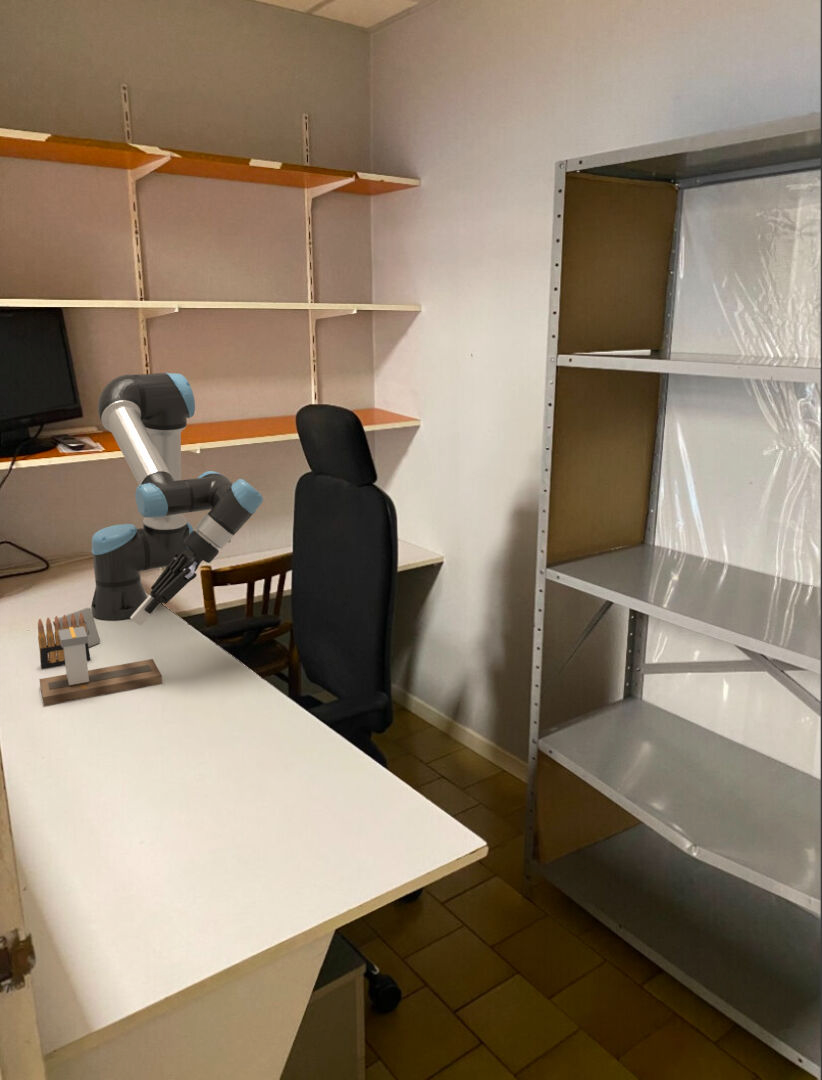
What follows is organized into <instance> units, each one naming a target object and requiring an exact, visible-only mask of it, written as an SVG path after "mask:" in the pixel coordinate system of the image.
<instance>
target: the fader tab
mask: <svg viewBox="0 0 822 1080" xmlns="http://www.w3.org/2000/svg"><path fill="white" fill-rule="evenodd" d="M58 634H59V639H60V643H61V646H62V647H63V649H64V658H65V665H64V666H65V672H66V673H65V674H66V675H67V679H68V683H69V685H74V684H79V683H85V682H89V676H88V670H89V667H88V661H87V658H86V648H85V644H86V643H88V636H87V633H86V631H85V628H84V626H83V627H76V628H73V627H69V629H63V630H58Z"/></svg>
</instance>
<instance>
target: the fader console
mask: <svg viewBox="0 0 822 1080" xmlns="http://www.w3.org/2000/svg"><path fill="white" fill-rule="evenodd" d="M88 676H89V682H85V683H79V684H74V685H69V683H68V679H67V675H66V673H65V674H61V675H55V676H50V677H49V676H48V677H44V678H39V687H40V693H41V697H42V702H43V706H44V707H46V706H50V705H51V706H52V705H56V704H62V703H67V702H72V701H78V700H83V699H89V698H92V697H93V698H94V697H98V696H104V695H108V694H115V693H119V692H125V691H130V690H134V689H135V690H136V689H140V688H144V687H145V688H146V687H151V686H155V685H161V684H163V677H162V673H161V671H160V669H159V667H158V666H157V664H156V662H155V660H154V659H153V658H152V659H145V660H140V661H139V660H138V661H133V662H128V663H122V664H117V665H111V666H106V667H100V668H95V669H88Z"/></svg>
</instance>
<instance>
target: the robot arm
mask: <svg viewBox="0 0 822 1080" xmlns="http://www.w3.org/2000/svg"><path fill="white" fill-rule="evenodd" d="M97 400H98V402H97V413H98V418H99V420H100V422H101V424H102V426H103V427H104V429H105V430H106V431H108V432H110V433H111V434H112V436H113V437H114V439H115V442H116V444H117V446H118V448H119V449H120V451H121V453H122V456H123V458H124V459H125V461H126V463H127V465H128V466H129V469H130V470H131V472H132V474H133V477H134V479H135V480H136V483H137V484H138V486H137V487H136V488H135V489H136V490H135V503H136V506H137V510H138V512H139V514H140V515H141V517H144V518H143V520H142V523H143V527H142V528H137V527H136V525H135V524H131V523H124V524H121V523H119V524H115V525H111V526H106V527H104V528H101V529H99V530H97V531H96V532H95V533H93V535H92V537H91V551H90V552H91V554H92V561H93V571H94V579H95V580H94V583H95V589H94V592H93V597H92V601H91V606H90V609H91V612H92V615H93V618H96V619H99V620H105V621H117V620H118V621H119V620H126V619H130V620H131V621H133V622H135V623H136V624H137V625H139V626H140V627H142V626H143V625H144V623H145V622H146V621H147V620H148V619H149V618H150V617H151V616H152V614H154V612H155V611H156V610H157V609H158V607H160V605H161V604H164V605H167V604H168V603H169V602H170V601H171V600H172V599H173V598H174V597H175V596H176V595H177V594H178V593H179V592H180V591H181V590H182V589H183V588H184V587H186V585H188V584H189V583H190V582H191V581H193V580H194V579H196V577H197V575H198V574H197V573H196V571H197V570H198V568H199V566H200V565H201V563H202V562H203V561H204V562H205V563H207V564H211V562H212V561H213V560H214V559H215V558H216V557H217V556H218V555H219V553H220V550H219V549H221V550H223V548H224V547H225V546H226V545H227V544H229V543H231V542H232V538H233V537H234V536H235V535H236V534H237V533H238V532H239V530H240V529H241V528H242V527H243V526H244V524H246V522H248V520H250V518H251V517H252V516H253V515H254V514H255V513H256V512H257V510H258V508H259V507H260V506H261V505H262V503H263V502H264V496H263V495H262V494H261V493H260V492H259V491H258V490H257V489H256V488H254V487H253V485H251V484H250V483H248V482H247V481H246V480H245V479H243V478H239V479H237V480H236V481H235V482H232V481H231V480H230V479H229V478H227V477H226V476H225V475H223V474H221V473H219V472H218V471H215V470H214V471H213V470H212V471H211V470H210V471H209V470H208V471H204V472H203V473H201V475H199V476H197V478H189V479H182V436H181V435H182V432H183V431H184V430H185V429H186V428H187V426H188V425H187V419H190V418H192V417H193V416H194V415H195V411H196V400H195V397H194V392H193V389H192V387H191V383H190V382H189V381H188V379H187V378H186V377H185V376H184V375H183V374H180V373H171V372H160V373H157V372H155V373H143V374H122V375H119V376H117V377H114V379H111V380H110V381H109V382H108V383H107V384H106V385H105V386H104V388H103V389H102V391H101V392H100V394H99V397H98V399H97ZM202 511H209V512H208V513H207V514H206V515H205V516H203V517H202V519H201V520H200V521H199V522H198V524H196V526H195V529H196V530H194V528H193V526H192V525H191V523H190V522H188V519H187V518H186V517H185V516H184V515H183V514H187V513H196V512H202ZM161 568H164V570H163V571H162V572H161V574H160V575H159V576H158V578H157V579H156V581H155V582H154V583H153V584H152V586H151V587H150V590H151V591H150V593H149V595H148V594H147V593H146V590H145V588H144V585H143V583H142V581H141V572H144V571H149V570H155V569H161Z"/></svg>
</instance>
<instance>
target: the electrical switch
mask: <svg viewBox="0 0 822 1080" xmlns="http://www.w3.org/2000/svg"><path fill="white" fill-rule="evenodd" d="M80 612H81V613H82V614H83V617H84V621H85V627H86V630H87V636H88V647H89V648H92V647H93V646H95V645H98V644H100V641H101V639H100V638H101V637H100V636H99V632H98V629H97V625H96V621H95V619H94V618H95V617H94V616H93V615H92V611H91V607H85V608H82V609H79V610H76V611H73V612H71V613H68V614H64V615H65V616H66V618H67V621H68V626H69V627H71V615H72V614H74V616H75V619H76V624H77V627H79V615H80ZM64 615H63V616H64ZM63 616H61V617H58V619H59V622H60V627H61V630H63ZM54 622H55V620H54V621H53V622H52V623H53V624H52V625H53V627H54V628H55V626H54Z"/></svg>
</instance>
